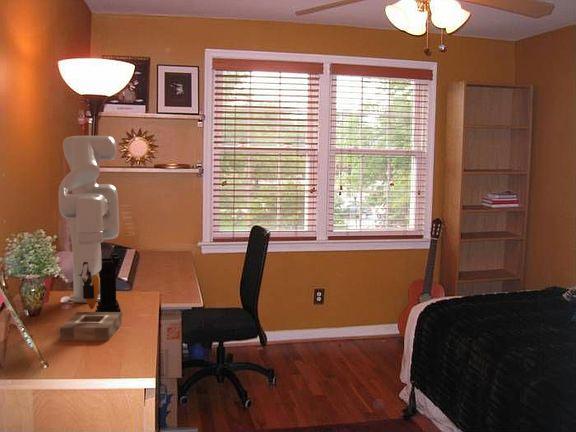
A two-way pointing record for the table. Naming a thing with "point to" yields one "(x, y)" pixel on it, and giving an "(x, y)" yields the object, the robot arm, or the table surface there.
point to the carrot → (92, 302)
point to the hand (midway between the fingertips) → (91, 295)
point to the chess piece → (108, 285)
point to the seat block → (91, 326)
